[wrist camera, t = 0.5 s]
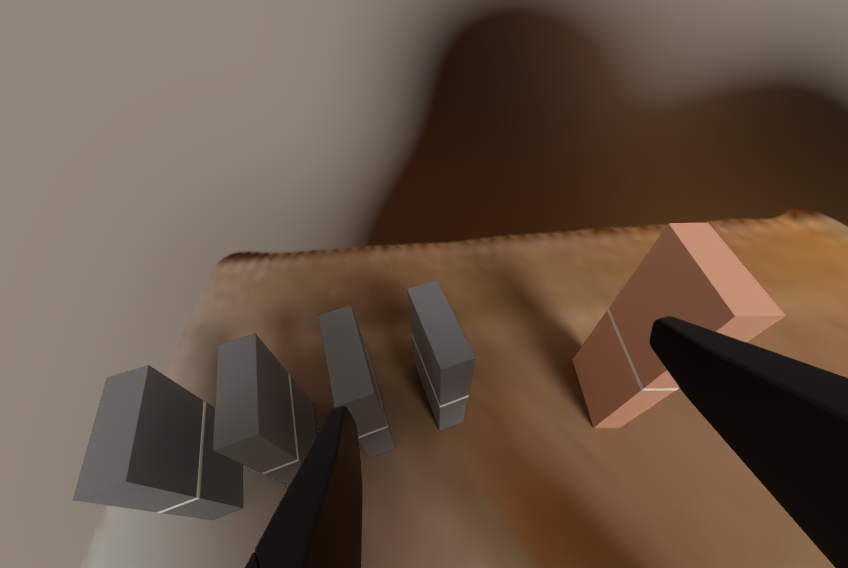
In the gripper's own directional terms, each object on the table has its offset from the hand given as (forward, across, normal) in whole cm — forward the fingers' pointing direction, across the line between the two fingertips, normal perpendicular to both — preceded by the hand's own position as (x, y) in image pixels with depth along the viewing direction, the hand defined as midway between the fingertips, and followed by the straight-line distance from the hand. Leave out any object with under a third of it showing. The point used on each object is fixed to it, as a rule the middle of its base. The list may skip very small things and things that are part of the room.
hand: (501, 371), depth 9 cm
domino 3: (+9, +7, +12) cm, 17 cm away
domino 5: (+8, -9, +15) cm, 19 cm away
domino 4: (+10, +2, +13) cm, 17 cm away
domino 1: (+8, +17, +12) cm, 22 cm away
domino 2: (+8, +12, +12) cm, 19 cm away
